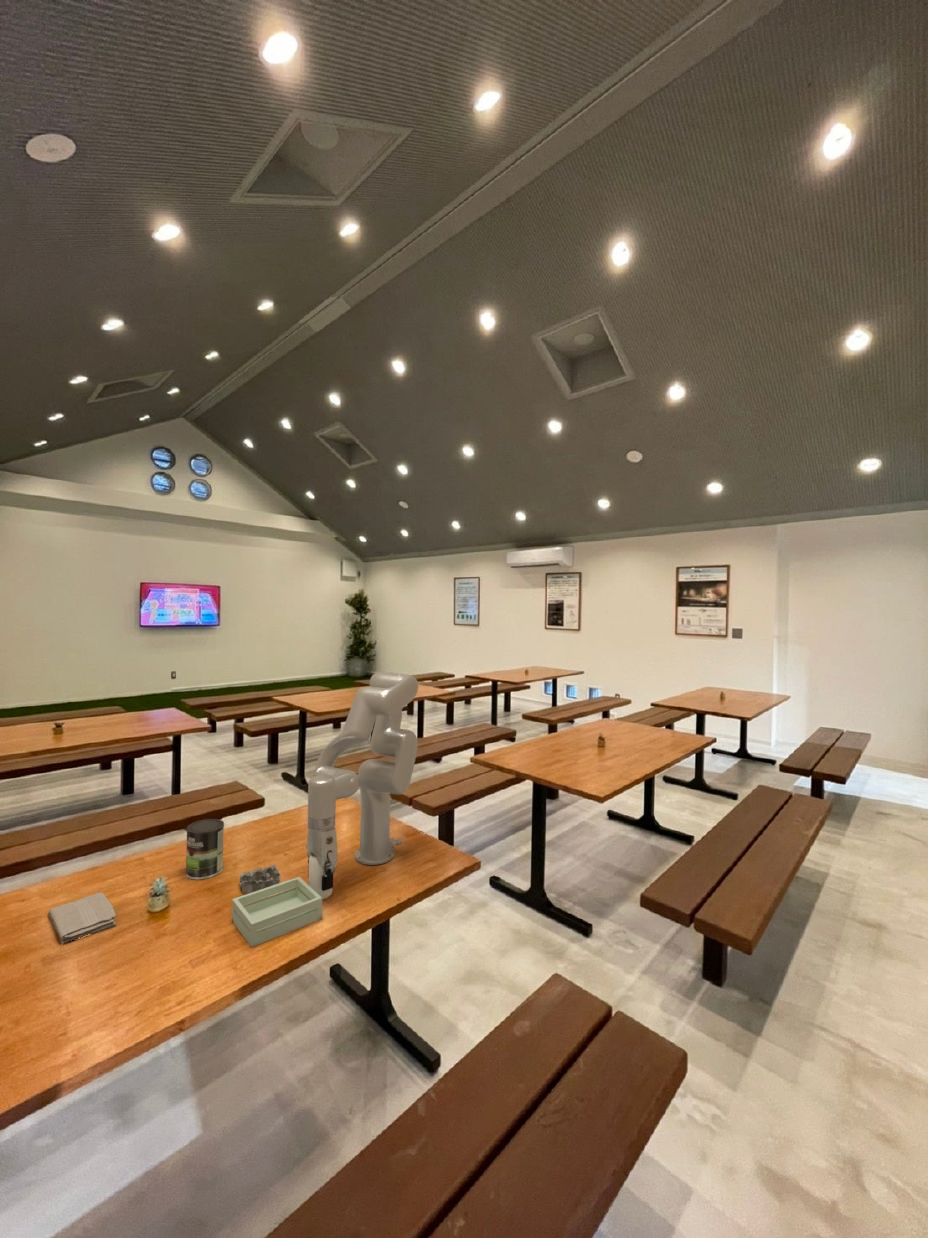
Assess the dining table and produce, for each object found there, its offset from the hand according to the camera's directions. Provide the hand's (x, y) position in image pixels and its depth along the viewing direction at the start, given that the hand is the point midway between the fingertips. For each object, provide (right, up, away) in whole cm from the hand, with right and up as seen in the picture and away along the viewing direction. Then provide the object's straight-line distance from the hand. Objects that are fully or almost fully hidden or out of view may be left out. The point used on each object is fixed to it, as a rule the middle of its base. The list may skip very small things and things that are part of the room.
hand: (320, 882), depth 148 cm
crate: (-8, -3, -12) cm, 15 cm away
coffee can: (-38, -3, +12) cm, 40 cm away
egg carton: (-19, -3, +5) cm, 20 cm away
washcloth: (-57, -3, -14) cm, 59 cm away
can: (0, -4, 0) cm, 4 cm away
